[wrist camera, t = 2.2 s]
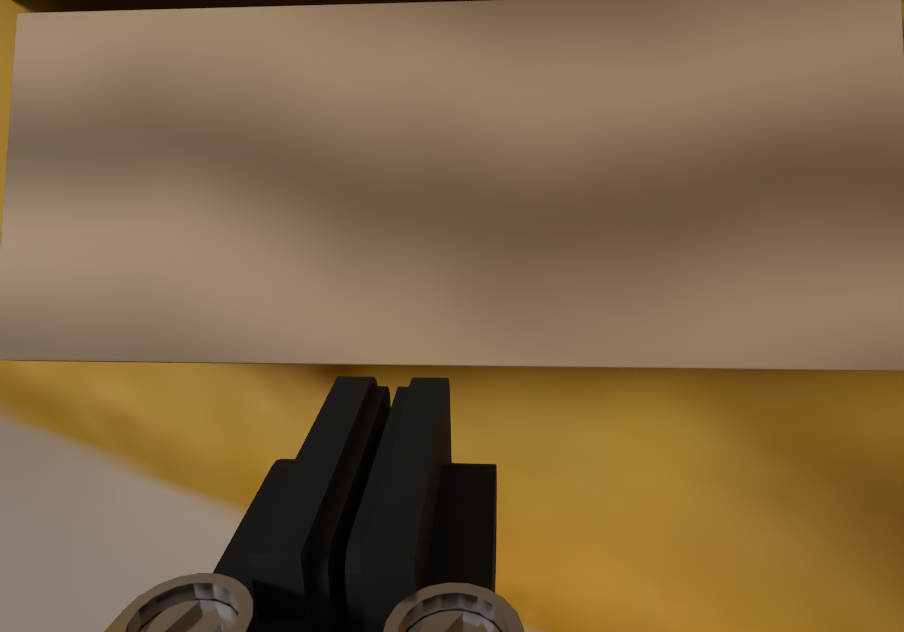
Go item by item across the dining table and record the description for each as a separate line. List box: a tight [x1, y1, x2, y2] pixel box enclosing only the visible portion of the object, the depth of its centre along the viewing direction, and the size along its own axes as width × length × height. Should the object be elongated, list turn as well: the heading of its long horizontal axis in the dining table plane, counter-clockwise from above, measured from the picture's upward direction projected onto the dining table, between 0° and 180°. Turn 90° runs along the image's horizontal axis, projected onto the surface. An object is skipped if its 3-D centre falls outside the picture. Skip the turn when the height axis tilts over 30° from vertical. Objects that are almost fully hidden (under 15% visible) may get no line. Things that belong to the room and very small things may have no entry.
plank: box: [0, 0, 904, 371], centre depth 18 cm, size 9×22×1 cm, turn 91°
